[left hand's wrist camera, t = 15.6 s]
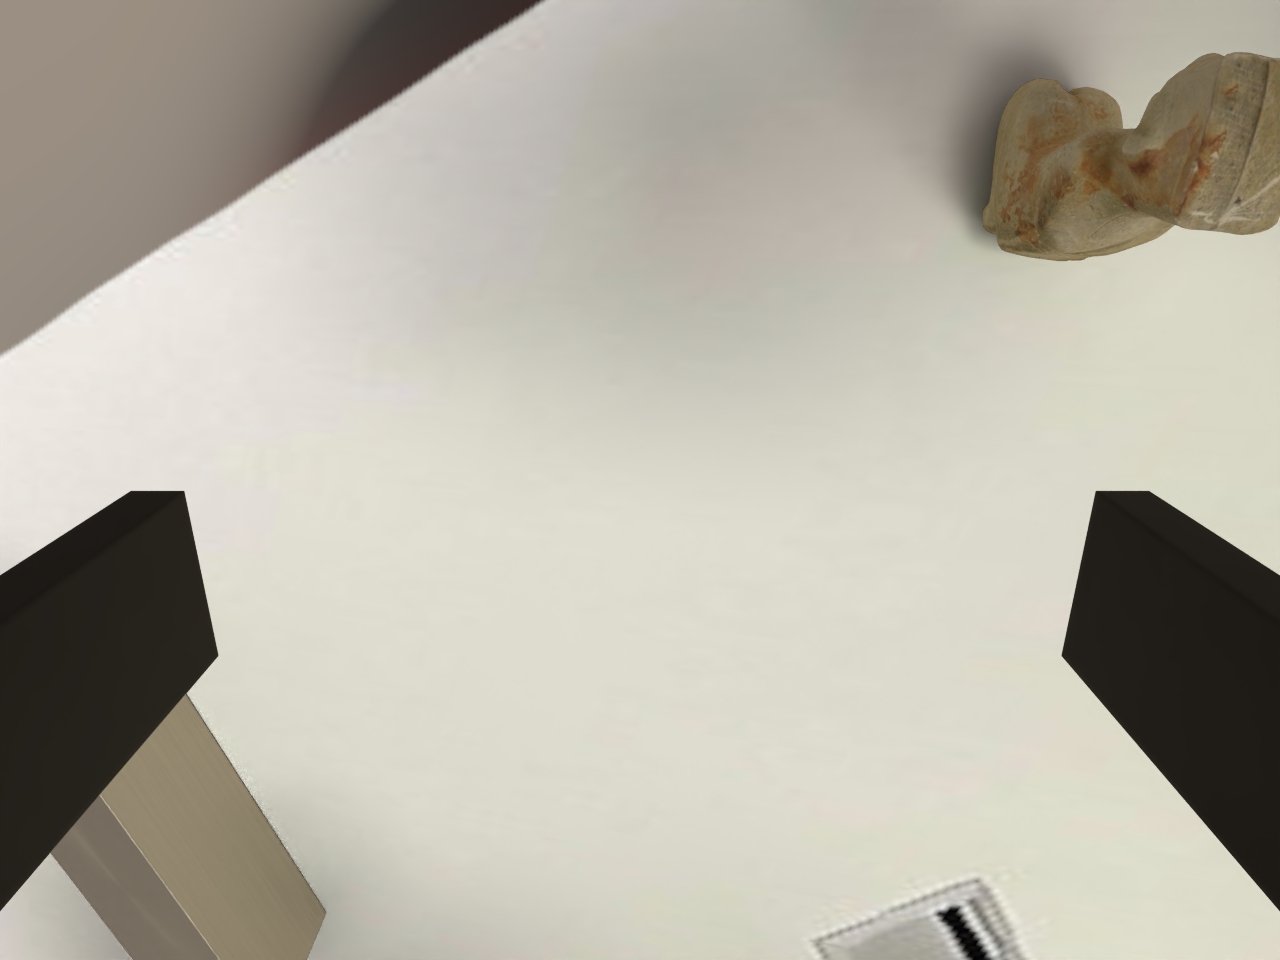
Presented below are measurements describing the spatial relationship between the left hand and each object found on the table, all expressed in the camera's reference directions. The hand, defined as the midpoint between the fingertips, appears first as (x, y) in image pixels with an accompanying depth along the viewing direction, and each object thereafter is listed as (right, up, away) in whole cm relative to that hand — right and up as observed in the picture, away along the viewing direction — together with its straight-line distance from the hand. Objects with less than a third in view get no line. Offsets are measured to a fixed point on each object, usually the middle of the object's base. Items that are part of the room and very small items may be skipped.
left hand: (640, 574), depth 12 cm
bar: (-27, -17, +39) cm, 50 cm away
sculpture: (+18, +16, +26) cm, 36 cm away
